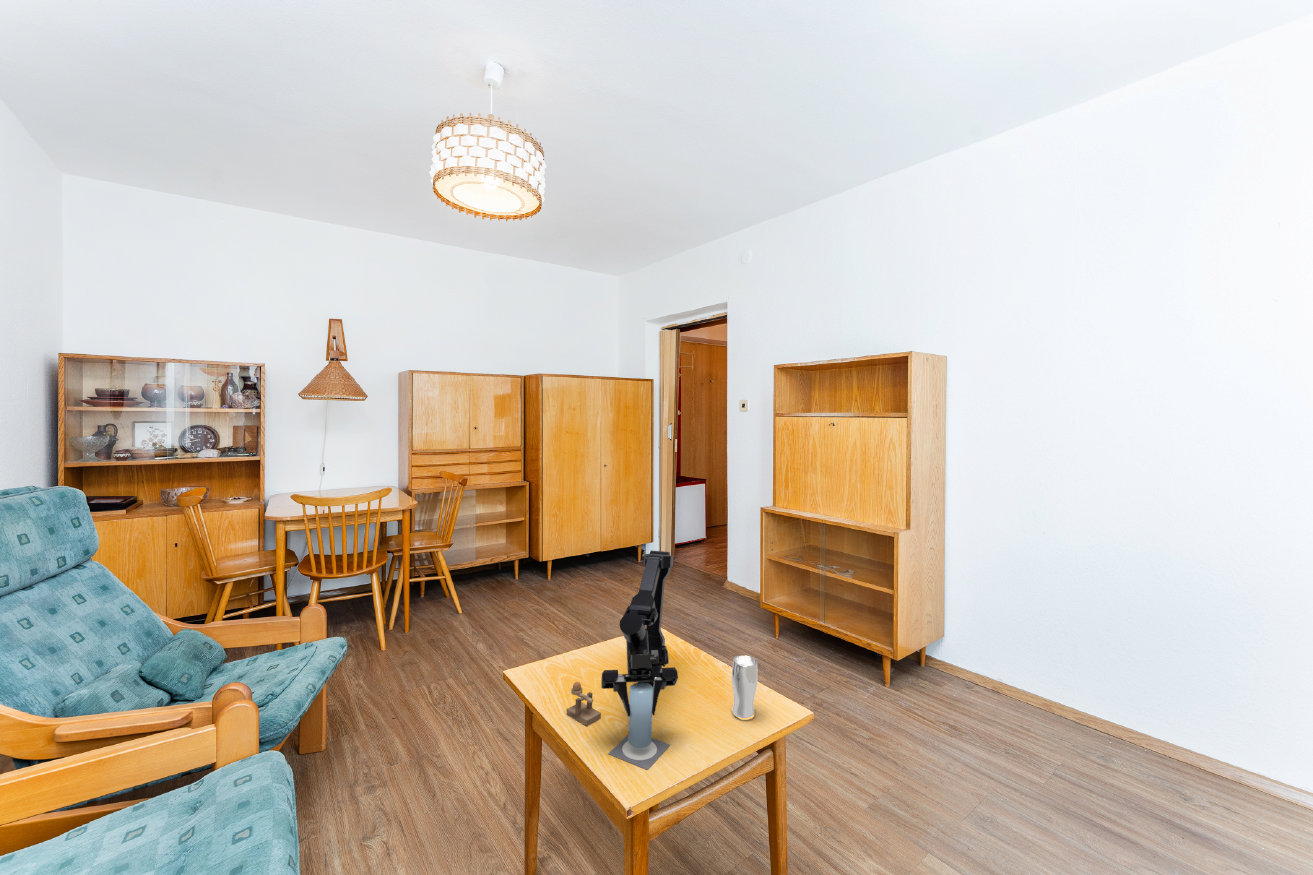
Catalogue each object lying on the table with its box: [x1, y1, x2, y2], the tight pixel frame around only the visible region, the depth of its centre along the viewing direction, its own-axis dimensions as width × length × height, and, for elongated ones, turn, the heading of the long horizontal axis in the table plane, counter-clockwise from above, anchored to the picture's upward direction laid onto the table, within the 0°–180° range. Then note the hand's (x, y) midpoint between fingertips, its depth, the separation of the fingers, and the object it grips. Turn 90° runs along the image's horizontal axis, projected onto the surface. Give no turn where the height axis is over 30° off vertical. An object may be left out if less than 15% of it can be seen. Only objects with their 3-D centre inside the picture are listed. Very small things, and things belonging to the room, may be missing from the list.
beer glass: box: [731, 655, 759, 718], centre depth 145 cm, size 7×7×15 cm
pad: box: [607, 733, 671, 771], centre depth 129 cm, size 11×11×1 cm
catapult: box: [566, 681, 602, 727], centre depth 143 cm, size 8×5×8 cm, turn 49°
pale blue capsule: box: [628, 682, 653, 748], centre depth 129 cm, size 6×6×13 cm
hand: (641, 715), depth 127 cm, fingers closed on pale blue capsule, 6 cm apart
